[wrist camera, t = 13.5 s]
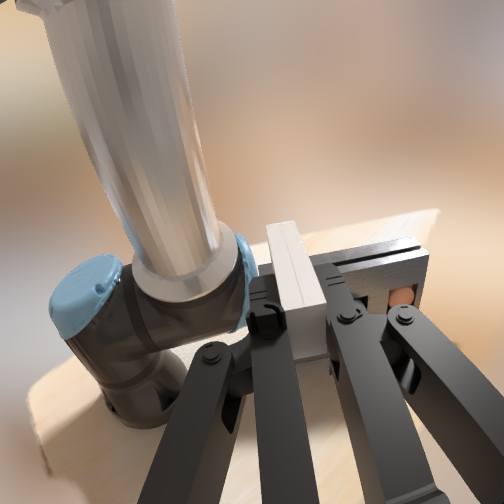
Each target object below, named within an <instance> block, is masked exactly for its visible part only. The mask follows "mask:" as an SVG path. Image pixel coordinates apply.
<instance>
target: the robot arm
mask: <svg viewBox="0 0 504 504" xmlns="http://www.w3.org/2000/svg"><path fill="white" fill-rule="evenodd" d="M5 1H6V0H0V4H1V3H3V2H5ZM15 4H16V8H17V10H19V11H22V12H26V13H29V14H32V15H36V16H39V17H40V18H41V19H42V20H43V21H44V25H45V29H46V33H47V37H48V41H49V44H50V48H51V51H52V55H53V58H54V62H55V65H56V68H57V71H58V75H59V78H60V81H61V84H62V87H63V89H64V93H65V96H66V98H67V101H68V104H69V107H70V109H71V112H72V115H73V118H74V120H75V123H76V125H77V128H78V130H79V133H80V136H81V138H82V140H83V143H84V145H85V148H86V150H87V152H88V155H89V157H90V160H91V162H92V164H93V166H94V169H95V171H96V173H97V175H98V178H99V180H100V182H101V184H102V186H103V189H104V191H105V193H106V195H107V197H108V199H109V201H110V203H111V205H112V207H113V209H114V211H115V213H116V215H117V217H118V219H119V221H120V223H121V225H122V227H123V229H124V231H125V233H126V235H127V237H128V239H129V241H130V243H131V244H132V246H133V248H134V250H135V253H134V256H133V260H132V264H128V265H125V266H122V263H121V261H120V260H119V259H118V258H117V257H116V256H114V255H112V254H109V255H107V254H103V255H99V256H96V257H94V258H91V259H89V260H88V261H86V262H84V263H82V264H81V265H79V266H78V267H76V268H75V269H74V270H72V271H71V272H70V273H69V274H68V275H67V276H66V277H65V278H64V279H63V280H62V281H61V282H60V283H59V284H58V286H57V287H56V289H55V290H54V292H53V294H52V296H51V298H50V302H49V314H50V317H51V319H52V321H53V322H54V324H55V326H56V328H57V330H58V331H59V334H60V336H61V338H62V339H64V341H65V342H66V343H67V345H68V346H69V347H70V349H71V350H72V351H73V353H74V354H75V355H76V356H77V358H78V359H79V360H80V361H81V363H82V364H83V365H84V366H85V368H86V369H87V370H88V371H89V372H90V374H91V375H92V376H93V377H94V378H95V380H96V381H97V382H98V384H99V387H100V389H101V392H102V395H103V398H104V400H105V403H106V405H107V407H108V409H109V410H110V411H111V413H112V414H113V415H114V416H115V417H116V418H117V419H118V420H119V421H121V422H122V423H123V424H125V425H127V426H130V427H133V428H139V429H147V428H153V427H157V426H160V425H162V424H164V423H166V422H168V423H167V426H166V429H165V431H164V434H163V436H162V439H161V442H160V444H159V447H158V449H157V452H156V454H155V457H154V460H153V462H152V465H151V468H150V470H149V473H148V475H147V478H146V481H145V483H144V486H143V489H142V491H141V494H140V497H139V499H138V502H137V504H219V502H220V498H221V494H222V491H223V487H224V483H225V479H226V475H227V472H228V468H229V464H230V460H231V456H232V452H233V448H234V444H235V440H236V436H237V432H238V428H239V424H240V420H241V416H242V412H243V408H244V404H245V400H246V395H247V394H250V393H252V392H254V402H255V416H256V430H257V443H258V456H259V469H260V482H261V495H262V504H319V497H318V491H317V485H316V480H315V474H314V468H313V462H312V456H311V451H310V445H309V440H308V434H307V428H306V423H305V417H304V412H303V407H302V401H301V396H300V391H299V385H298V380H297V375H296V370H295V365H294V360H295V359H301V358H306V357H311V356H316V355H321V354H326V353H327V347H328V350H329V354H330V375H332V373H333V376H334V380H335V384H336V387H337V391H338V394H339V398H340V402H341V406H342V409H343V413H344V417H345V421H346V424H347V428H348V432H349V436H350V440H351V444H352V448H353V452H354V456H355V460H356V464H357V469H358V473H359V477H360V482H361V486H362V490H363V495H364V499H365V504H450V501H449V499H448V497H447V496H446V494H445V493H444V492H442V491H441V490H439V489H438V488H437V487H436V485H435V482H434V479H433V476H432V473H431V470H430V467H429V464H428V461H427V458H426V455H425V452H424V449H423V447H422V444H421V441H420V438H419V436H418V433H417V430H416V428H415V425H414V422H413V420H412V417H411V414H410V412H409V409H408V407H407V404H406V402H405V400H406V401H407V403H408V404H409V405H410V407H411V408H412V409H413V411H414V412H415V413H416V415H417V416H418V417H419V419H420V420H421V421H422V423H423V424H424V425H425V427H426V428H427V429H428V431H429V432H430V434H432V436H433V438H434V439H435V440H436V442H437V443H438V445H439V446H440V447H441V449H442V450H443V452H444V453H445V454H446V456H447V457H448V458H449V460H450V461H451V463H452V464H453V465H454V467H455V468H456V470H457V471H458V473H459V474H460V475H461V477H462V478H463V480H464V481H465V483H466V484H467V486H468V487H469V488H470V490H471V491H472V493H473V494H474V495H475V497H476V498H477V500H478V501H479V502H480V503H481V504H504V397H503V396H502V395H501V394H500V392H499V391H498V390H497V389H496V388H495V387H494V386H493V385H492V384H491V382H490V381H489V380H488V379H487V378H486V377H485V376H484V375H483V374H482V373H481V372H480V371H479V370H478V368H477V367H476V366H475V365H474V364H473V363H472V362H471V361H470V360H469V359H468V358H467V357H466V356H465V355H464V354H463V353H462V352H461V351H460V350H459V349H458V348H457V347H456V346H455V345H454V344H453V343H452V342H451V341H450V340H449V339H448V338H447V337H446V336H445V335H444V334H443V333H442V332H441V331H440V330H439V329H438V328H437V327H436V326H435V325H434V324H433V323H432V322H431V321H430V320H429V319H428V318H427V317H426V316H425V315H424V314H423V313H422V312H421V311H420V310H419V309H417V308H416V307H414V306H412V305H408V304H399V305H396V306H394V307H392V308H391V309H390V311H389V312H388V315H384V314H370V313H366V312H365V311H364V310H363V308H362V307H360V306H358V305H356V303H355V301H354V299H353V297H352V295H351V293H350V291H349V289H348V287H347V285H346V283H345V281H344V279H343V277H342V275H341V273H340V271H339V269H338V268H337V267H336V266H335V265H333V264H332V263H325V264H320V265H314V266H312V263H311V261H310V258H309V256H308V253H307V251H306V248H305V246H304V243H303V241H302V238H301V236H300V234H299V231H298V229H297V226H296V224H295V221H294V220H292V221H286V222H281V223H275V224H269V225H266V231H267V237H268V243H269V249H270V255H271V261H272V267H273V272H274V274H269V275H264V276H258V273H257V269H256V264H255V261H254V258H253V255H252V252H251V249H250V247H249V245H248V243H247V241H246V239H245V238H244V237H243V236H242V235H241V234H238V233H234V234H233V232H232V231H231V230H230V228H229V227H228V226H227V225H226V224H224V223H223V222H221V221H220V220H218V219H216V214H215V210H214V205H213V201H212V196H211V191H210V187H209V182H208V178H207V173H206V168H205V163H204V159H203V154H202V149H201V144H200V139H199V134H198V130H197V125H196V119H195V115H194V109H193V104H192V99H191V94H190V89H189V83H188V78H187V73H186V67H185V62H184V56H183V51H182V45H181V39H180V34H179V28H178V22H177V16H176V10H175V4H174V0H15ZM246 326H248V330H249V333H248V335H247V336H246V337H245V338H243V339H242V340H240V341H239V342H237V343H234V344H232V345H229V346H228V345H227V344H225V343H223V342H219V341H215V342H209V343H207V344H204V345H203V346H201V347H200V348H199V349H198V350H197V352H196V353H195V355H194V358H193V360H192V363H191V365H190V368H189V370H187V369H186V367H185V365H184V363H183V362H182V360H181V359H180V358H179V357H178V356H177V355H175V354H174V353H172V352H171V351H170V350H169V349H171V348H175V347H178V346H182V345H186V344H190V343H193V342H197V341H200V340H204V339H207V338H211V337H214V336H218V335H221V334H225V333H234V332H236V331H237V330H238V329H240V328H243V327H246Z"/></svg>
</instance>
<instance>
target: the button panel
mask: <svg viewBox="0 0 504 504" xmlns="http://www.w3.org/2000/svg"><path fill="white" fill-rule="evenodd" d="M420 247H421V245H420V244H419V243H418V242H417V240H416V239H415V238H414V237H413V236H412V237H407V238H402V239H397V240H392V241H387V242H382V243H377V244H371V245H366V246H361V247H356V248H350V249H345V250H340V251H334V252H329V253H324V254H318V255H313V256H309V258H310V261H311V263H312V266H314V265H320V264H325V263H332V264H333V265H335V266H336V267H337V268H338V269H339V271H340V273H341V275H342V277H343V279H344V281H345V283H346V285H347V287H348V289H349V291H350V293H351V295H352V297H353V299H354V298H359V299H361V300H362V302H363V304H364V306H365V308H366V310H367V312H368V313H370V314H384V315H388V312H389V311H390V309H391V307H390V305H389V303H388V298H389V290H393V289H397V288H401V287H405V286H410V288H411V289H412V291H413V292H414V299H413V301H412V303H411V304H410V305H412V306H414V307H416V308H417V309H419V305H420V301H421V296H422V292H423V287H424V282H425V277H426V271H427V265H428V260H429V253H428V252H427V251H426V250H425V249H420ZM258 270H259V276H264V275H269V274H274V272H273V267H272V263H269V264H263V265H258ZM327 357H330V354H329V350H328V347H327V353H326V354H321V355H316V356H311V357H306V358H301V359H295V360H294V364H297V363H302V362H307V361H312V360H317V359H322V358H327Z"/></svg>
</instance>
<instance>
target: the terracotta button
mask: <svg viewBox="0 0 504 504" xmlns="http://www.w3.org/2000/svg"><path fill="white" fill-rule="evenodd" d="M413 299H414V292H413V291H412V289H411V288H410V286H405V287H401V288H397V289H393V290H389V298H388V303H389V305H390V307H391V308H392V307H394V306H396V305H399V304H408V305H410V304H411V303H412V301H413Z"/></svg>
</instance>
